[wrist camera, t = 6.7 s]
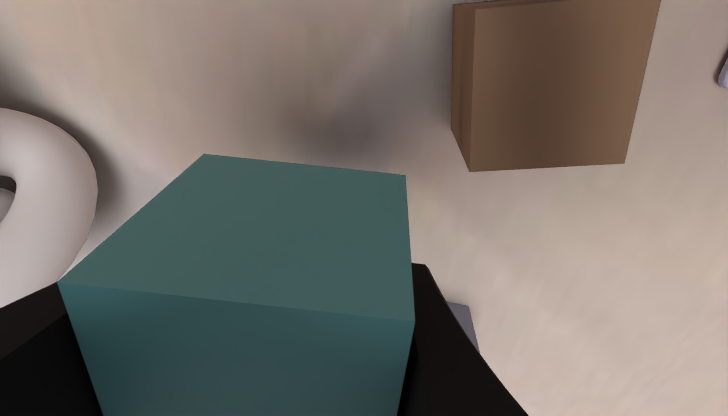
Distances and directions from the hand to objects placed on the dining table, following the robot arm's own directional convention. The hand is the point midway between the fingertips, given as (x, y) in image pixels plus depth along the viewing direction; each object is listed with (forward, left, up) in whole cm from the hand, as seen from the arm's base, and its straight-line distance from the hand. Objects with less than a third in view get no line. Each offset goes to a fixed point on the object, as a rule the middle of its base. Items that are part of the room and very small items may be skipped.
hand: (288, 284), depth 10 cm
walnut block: (-7, -4, -10) cm, 13 cm away
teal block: (0, 0, -2) cm, 2 cm away
